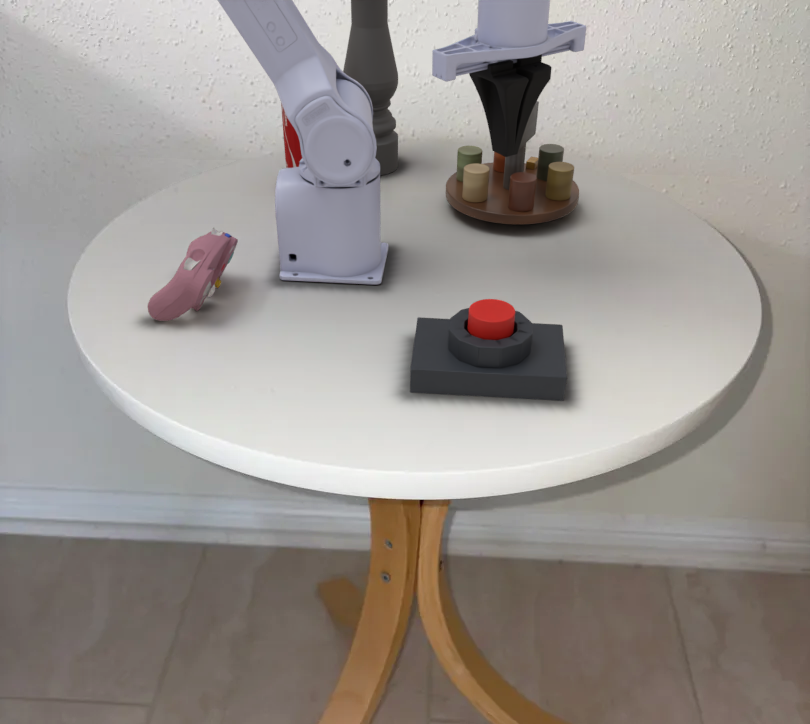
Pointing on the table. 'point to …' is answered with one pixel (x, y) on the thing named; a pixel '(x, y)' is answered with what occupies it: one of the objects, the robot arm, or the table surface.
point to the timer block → (488, 360)
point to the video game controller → (194, 276)
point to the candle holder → (375, 73)
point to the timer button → (491, 319)
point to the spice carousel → (514, 183)
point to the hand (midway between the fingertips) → (504, 152)
